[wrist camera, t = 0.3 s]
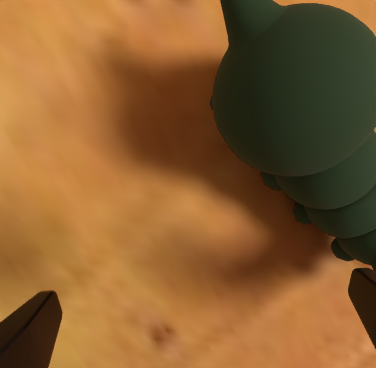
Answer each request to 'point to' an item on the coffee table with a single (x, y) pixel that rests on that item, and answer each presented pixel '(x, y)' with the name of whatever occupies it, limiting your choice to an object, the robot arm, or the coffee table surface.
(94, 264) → the coffee table surface
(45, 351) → the robot arm
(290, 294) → the coffee table surface
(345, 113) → the toy figurine
